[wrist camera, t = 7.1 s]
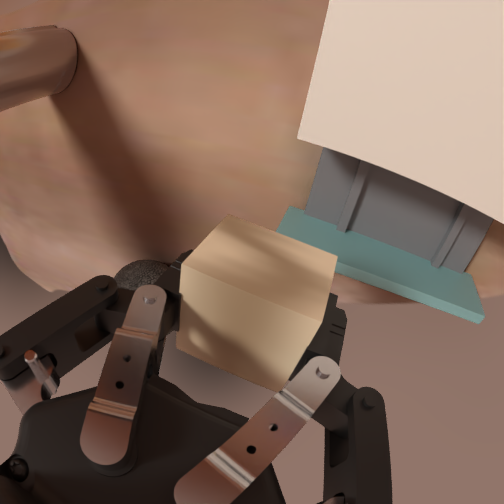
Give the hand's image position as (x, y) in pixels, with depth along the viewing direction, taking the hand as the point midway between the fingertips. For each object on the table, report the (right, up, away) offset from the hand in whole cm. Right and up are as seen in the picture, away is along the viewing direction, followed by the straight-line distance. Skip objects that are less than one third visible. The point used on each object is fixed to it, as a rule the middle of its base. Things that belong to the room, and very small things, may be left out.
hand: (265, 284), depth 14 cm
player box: (+16, +16, +3) cm, 23 cm away
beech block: (0, 0, 0) cm, 0 cm away
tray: (+14, +8, +9) cm, 18 cm away
